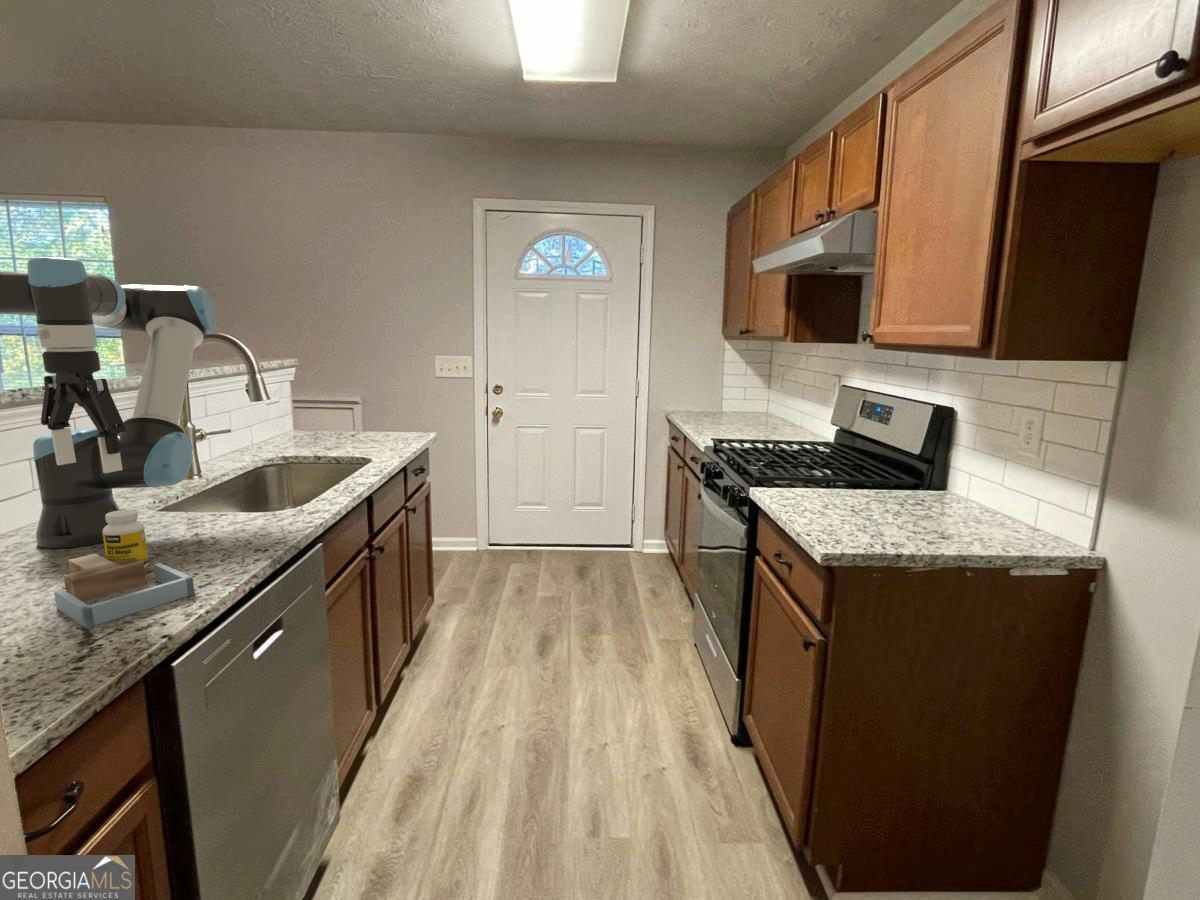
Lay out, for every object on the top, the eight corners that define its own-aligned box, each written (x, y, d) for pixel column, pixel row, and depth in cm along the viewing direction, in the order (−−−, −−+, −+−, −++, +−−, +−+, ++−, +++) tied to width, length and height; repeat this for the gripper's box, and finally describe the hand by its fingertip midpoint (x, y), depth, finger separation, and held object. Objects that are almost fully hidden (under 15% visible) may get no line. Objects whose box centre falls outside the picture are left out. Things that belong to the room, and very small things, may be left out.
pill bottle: (104, 577, 112) (95, 519, 110) (112, 566, 117) (103, 510, 115) (146, 572, 114) (138, 514, 112) (151, 561, 120) (144, 506, 118)
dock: (56, 608, 99) (54, 591, 99) (162, 578, 112) (160, 562, 111) (86, 628, 93) (83, 609, 92) (194, 593, 105) (192, 577, 105)
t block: (49, 586, 108) (46, 565, 107) (117, 569, 116) (114, 548, 115) (76, 603, 101) (72, 580, 100) (146, 583, 109) (143, 562, 109)
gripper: (2, 348, 109) (24, 464, 114) (90, 353, 100) (110, 479, 104) (52, 346, 116) (71, 456, 120) (139, 351, 107) (155, 470, 111)
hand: (89, 467), depth 112 cm, fingers open, 13 cm apart
